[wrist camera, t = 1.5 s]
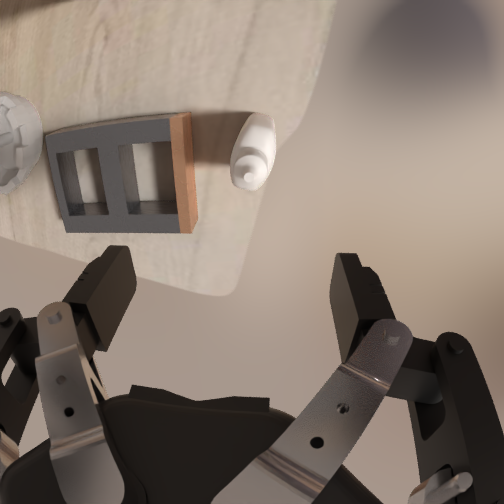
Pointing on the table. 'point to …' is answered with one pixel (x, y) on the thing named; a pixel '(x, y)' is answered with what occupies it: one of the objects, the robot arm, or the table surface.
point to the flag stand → (18, 140)
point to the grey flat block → (124, 176)
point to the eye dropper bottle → (253, 152)
